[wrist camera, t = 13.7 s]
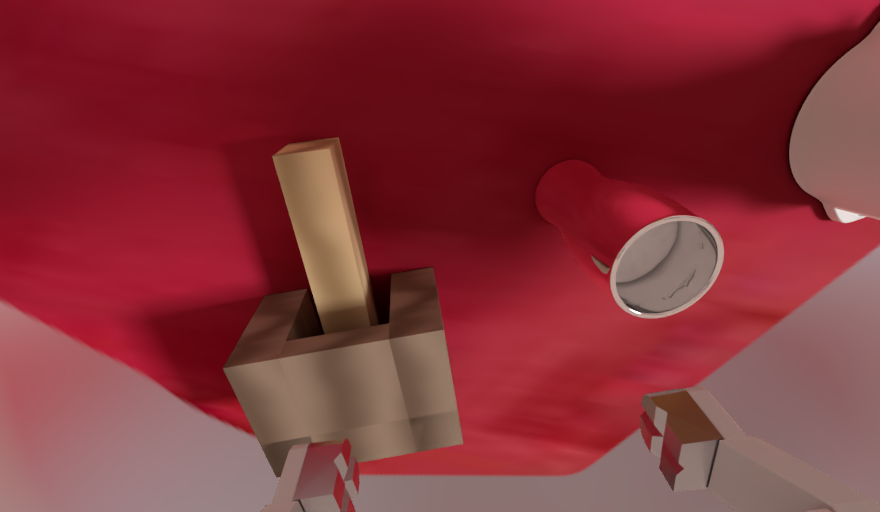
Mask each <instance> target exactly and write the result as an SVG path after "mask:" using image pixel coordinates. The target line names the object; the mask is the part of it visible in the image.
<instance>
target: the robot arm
mask: <svg viewBox="0 0 880 512" xmlns="http://www.w3.org/2000/svg"><path fill="white" fill-rule="evenodd" d="M789 160H790V166H791V170H792V174H793V176H794V178H795V180H796V182H797V183H798V185H799V186H800V187H801V188H802V189H803V190H804V191H805V192H807V193H808V194H810V195H812V196H813V197H815V198H817V199H818V200H820V201H821V202H822V204H823V206H824V209H825V211H826V213H827V215H828V217H829V218H830V219H831V220H833V221H837V222H841V223H849V222H853V221H856V220H858V219H861V218H864V217H870V218H874V219H878V220H880V21H879V22H878V24H877V25H876V26H875V28H874V29H873V30H872V32H871V33H870V34H869V35H868V36H867V37H866V38H865V39H864V40H863V41H861V42H860V43H859V44H858V45H856V46H855V47H854V48H852V49H851V50H850V51H849V52H847V53H846V54H845V55H844V56H842V57H841V58H840V59H839V60H838V61H837V62H836V63H835V64H834V65H833V66H832V67H831V68H830V69H829V70H828V71H827V72H826V73H825V74H824V75H823V76H822V77H821V79H820V80H819V81H818V83H817V84H816V85H815V87H814V88H813V89H812V91H811V92H810V94H809V95H808V97H807V99H806V100H805V102H804V104H803V106H802V108H801V110H800V112H799V114H798V116H797V119H796V122H795V125H794V128H793V131H792V135H791V140H790V148H789ZM641 405H642V406H643V408H644V409H645V412H644V413H643V414H642V415H641V416H640V429H641V433H642V437H643V439H644V442H645V444H646V446H647V448H648V449H649V451H650V453H652V454H653V455H655V456H656V457H658V458H659V459H660V465H659V469H660V470H661V472H662V474H663V475H664V477H665V479H666V481H667V482H668V484H669V486H670V487H671V489H672V491H673V492H680V491H689V490H698V489H707V488H708V491H709V492H710V493H712V494H713V495H714V496H715V497H717V498H718V499H720V500H721V501H722V502H723V503H724V504H726V505H727V506H728V507H729V508H731V509H732V510H733V511H735V512H880V504H879V503H877V502H876V501H875V500H873V499H872V498H870V497H868V496H866V495H864V494H862V493H861V492H859V491H857V490H855V489H853V488H851V487H849V486H847V485H845V484H843V483H842V482H840V481H838V480H836V479H834V478H832V477H830V476H828V475H826V474H825V473H823V472H821V471H819V470H817V469H815V468H813V467H811V466H810V465H808V464H806V463H804V462H802V461H800V460H798V459H796V458H794V457H793V456H791V455H788V454H787V453H785V452H783V451H781V450H779V449H777V448H775V447H774V446H772V445H770V444H768V443H766V442H764V441H762V440H760V439H759V438H757V437H755V436H747V435H746V434H745V433H744V432H743V431H742V430H741V428H740V427H739V426H738V425H737V424H736V423H735V422H734V420H733V419H732V418H731V417H730V416H729V415H728V413H727V412H726V411H725V410H724V409H723V408H722V407H721V405H720V404H719V403H718V402H717V401H716V399H715V398H714V397H713V396H712V395H711V394H710V393H709V391H708V390H707V389H706V388H704V387H702V386H697V387H691V388H684V389H675V390H669V391H662V392H656V393H650V394H645V395H644V396H643V397H642V404H641ZM350 453H351V445H350V442H349V440H348V439H340V440H332V441H323V442H315V443H308V444H300V445H293V446H292V448H291V449H290V450H289V452H288V455H287V458H286V462H285V465H284V468H283V471H282V474H281V477H280V480H279V483H278V486H277V489H276V492H275V496H274V498H273V502H272V504H270V505H266V506H265V507H264V508H263V509H262V510H261V511H260V512H356V510H355V508H354V505H353V503H352V501H353V500H354V499H355V497H356V496H357V495H358V490H359V468H358V463H357V460H356V458H355V457H354V456H352V455H351V454H350Z"/></svg>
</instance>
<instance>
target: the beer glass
mask: <svg viewBox="0 0 880 512" xmlns="http://www.w3.org/2000/svg"><path fill="white" fill-rule="evenodd" d="M535 203H536V207H537V210H538V212H539V214H540V215H541V216H542V217H543V218H544V219H545V220H546V221H547V222H549V223H550V224H552V225H554V226H556V227H559V228H560V230H561V232H562V234H563V237H564V239H565V241H566V243H567V246H568V248H569V250H570V252H571V253H572V255H573V257H574V259H575V260H576V262H577V264H578V265H579V266H580V267H581V269H582V270H583V271H584V272H585V274H586V275H587V276H588V277H589V278H590V279H591V280H592V281H593V282H594V283H595V284H596V285H597V286H598V287H599V288H600V289H601V290H602V291H603V292H605V293H606V294H607V295H608V296H609V297H610V298H611V299H613V300H614V301H615V302H616V303H617V304H618V305H619V307H621V308H622V309H623V310H624V311H626V312H627V313H629V314H631V315H634V316H637V317H641V318H662V317H666V316H670V315H673V314H676V313H678V312H680V311H682V310H684V309H686V308H688V307H689V306H691V305H692V304H694V303H695V302H697V301H698V300H699V299H700V298H701V297H702V296H703V295H704V294H705V293H706V292H707V291H708V290H709V289H710V288H711V286H712V285H713V283H714V282H715V280H716V278H717V277H718V275H719V272H720V270H721V267H722V263H723V258H724V246H723V241H722V238H721V236H720V234H719V232H718V231H717V229H716V228H715V227H714V226H713V225H712V224H711V223H709V222H708V221H706V220H704V219H702V218H700V217H699V216H697V215H696V214H694V213H693V212H691V211H690V210H688V209H687V208H685V207H684V206H682V205H681V204H679V203H678V202H676V201H674V200H673V199H671V198H669V197H667V196H665V195H664V194H662V193H659V192H657V191H655V190H652V189H650V188H648V187H645V186H642V185H638V184H634V183H631V182H626V181H620V180H614V179H608V178H604V177H602V175H601V174H600V173H599V172H598V170H597V169H596V168H595V167H593V166H592V165H591V164H589V163H587V162H585V161H582V160H566V161H563V162H560V163H558V164H556V165H554V166H553V167H551V168H550V169H549V170H548V171H547V172H546V173H545V174H544V175H543V176H542V178H541V179H540V181H539V183H538V185H537V188H536V193H535Z"/></svg>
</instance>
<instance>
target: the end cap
mask: <svg viewBox="0 0 880 512" xmlns="http://www.w3.org/2000/svg"><path fill="white" fill-rule="evenodd" d="M223 370H224V372H225V374H226V376H227V378H228V380H229V382H230V384H231V386H232V388H233V390H234V392H235V394H236V396H237V398H238V400H239V402H240V404H241V406H242V409H243V411H244V413H245V415H246V417H247V419H248V421H249V423H250V425H251V427H252V429H253V431H254V433H255V435H256V437H257V439H258V441H259V443H260V445H261V447H262V449H263V451H264V453H265V455H266V457H267V459H268V461H269V463H270V465H271V467H272V469H273V471H274V473H275V475H276V477H281V474H282V471H283V468H284V465H285V462H286V458H287V455H288V452H289V450H290V449H291V448H292V446H293V445H300V444H308V443H315V442H323V441H332V440H340V439H348V440H349V442H350V445H351V453H350V454H351V455H352V456H354V457H355V458H356V460H357V463H359V462H365V461H370V460H376V459H381V458H387V457H393V456H398V455H404V454H409V453H415V452H420V451H426V450H431V449H437V448H442V447H448V446H454V445H459V444H463V439H462V433H461V427H460V421H459V415H458V409H457V403H456V397H455V391H454V385H453V379H452V373H451V367H450V361H449V356H448V350H447V344H446V338H445V333H444V327H443V321H442V315H441V309H440V304H439V298H438V292H437V286H436V281H435V275H434V269H433V267H430V268H424V269H418V270H412V271H406V272H401V273H395V274H391V293H390V319H389V323H388V324H382V325H377V326H371V327H365V328H359V329H354V330H348V331H342V332H336V333H331V334H325V335H322V332H321V329H320V326H319V323H318V320H317V317H316V314H315V311H314V308H313V305H312V302H311V299H310V296H309V293H308V290H307V289H302V290H296V291H290V292H284V293H279V294H273V295H267V296H264V298H263V299H262V301H261V303H260V305H259V306H258V308H257V310H256V312H255V313H254V315H253V317H252V318H251V320H250V322H249V324H248V325H247V327H246V329H245V331H244V332H243V334H242V336H241V338H240V339H239V341H238V343H237V344H236V346H235V348H234V350H233V351H232V353H231V355H230V357H229V358H228V360H227V362H226V363H225V365H224V367H223Z"/></svg>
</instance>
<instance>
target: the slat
mask: <svg viewBox="0 0 880 512" xmlns="http://www.w3.org/2000/svg"><path fill="white" fill-rule="evenodd" d="M272 158H273V161H274V165H275V168H276V171H277V175H278V178H279V182H280V185H281V188H282V192H283V195H284V199H285V202H286V205H287V209H288V212H289V216H290V219H291V222H292V226H293V229H294V233H295V236H296V239H297V243H298V246H299V250H300V253H301V256H302V260H303V263H304V267H305V270H306V273H307V277H308V280H309V284H310V287H311V290H312V294H313V297H314V301H315V304H316V307H317V311H318V314H319V317H320V321H321V324H322V328H323V331H324V334H331V333H336V332H342V331H348V330H354V329H359V328H365V327H371V326H377V325H379V319H378V315H377V310H376V306H375V301H374V296H373V292H372V287H371V283H370V278H369V273H368V269H367V264H366V260H365V255H364V250H363V246H362V241H361V237H360V232H359V227H358V223H357V218H356V214H355V209H354V204H353V200H352V195H351V191H350V186H349V182H348V177H347V172H346V168H345V163H344V159H343V154H342V149H341V145H340V140H339V137H337V138H329V139H321V140H314V141H306V142H299V143H291V144H288V145H287V146H285V147H284V148H283V149H281V150H280V151H278V152H277V153H276V154H274V155H273V156H272Z"/></svg>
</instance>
